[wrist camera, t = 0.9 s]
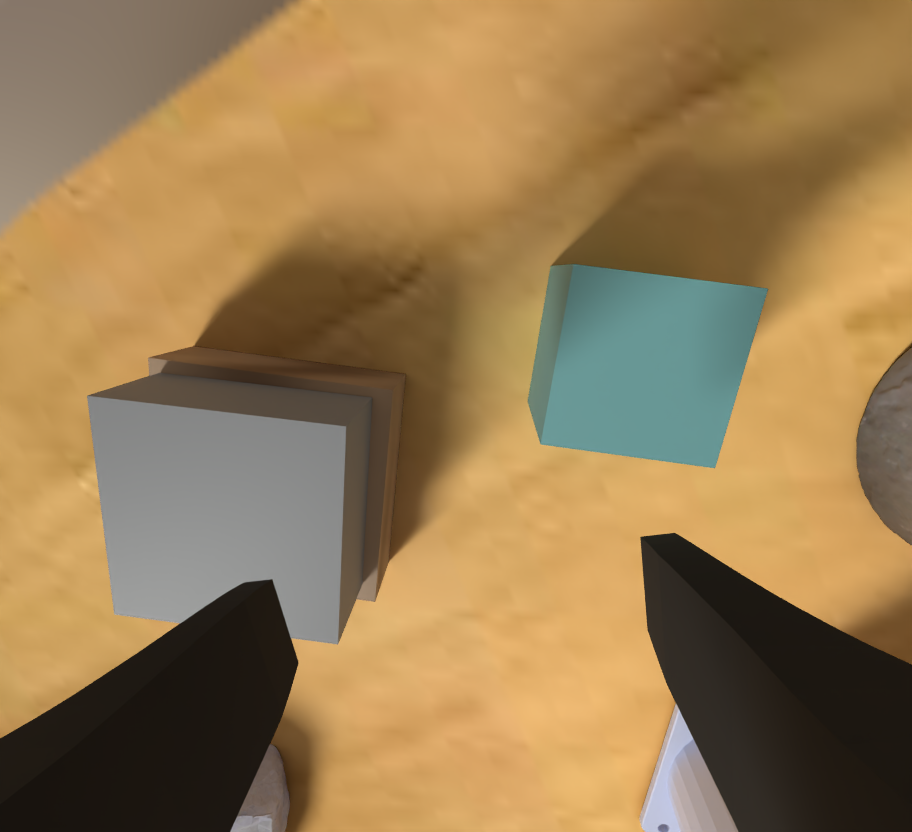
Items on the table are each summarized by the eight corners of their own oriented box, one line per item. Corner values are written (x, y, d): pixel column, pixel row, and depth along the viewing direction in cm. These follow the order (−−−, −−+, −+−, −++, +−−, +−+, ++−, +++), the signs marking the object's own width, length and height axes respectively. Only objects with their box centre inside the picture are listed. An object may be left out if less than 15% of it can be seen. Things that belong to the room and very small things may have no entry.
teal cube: (691, 283, 17) (767, 288, 12) (657, 418, 18) (715, 468, 13) (550, 265, 17) (573, 264, 12) (527, 400, 18) (540, 444, 14)
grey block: (372, 397, 16) (346, 426, 13) (362, 583, 18) (338, 644, 15) (159, 372, 16) (87, 395, 13) (173, 559, 18) (114, 614, 15)
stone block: (311, 708, 25) (97, 691, 23) (294, 811, 21) (28, 801, 19) (278, 851, 29) (92, 847, 27) (258, 963, 25) (33, 969, 23)
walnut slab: (407, 371, 19) (392, 390, 16) (390, 556, 21) (375, 601, 18) (200, 344, 19) (148, 357, 16) (205, 530, 21) (161, 570, 18)
